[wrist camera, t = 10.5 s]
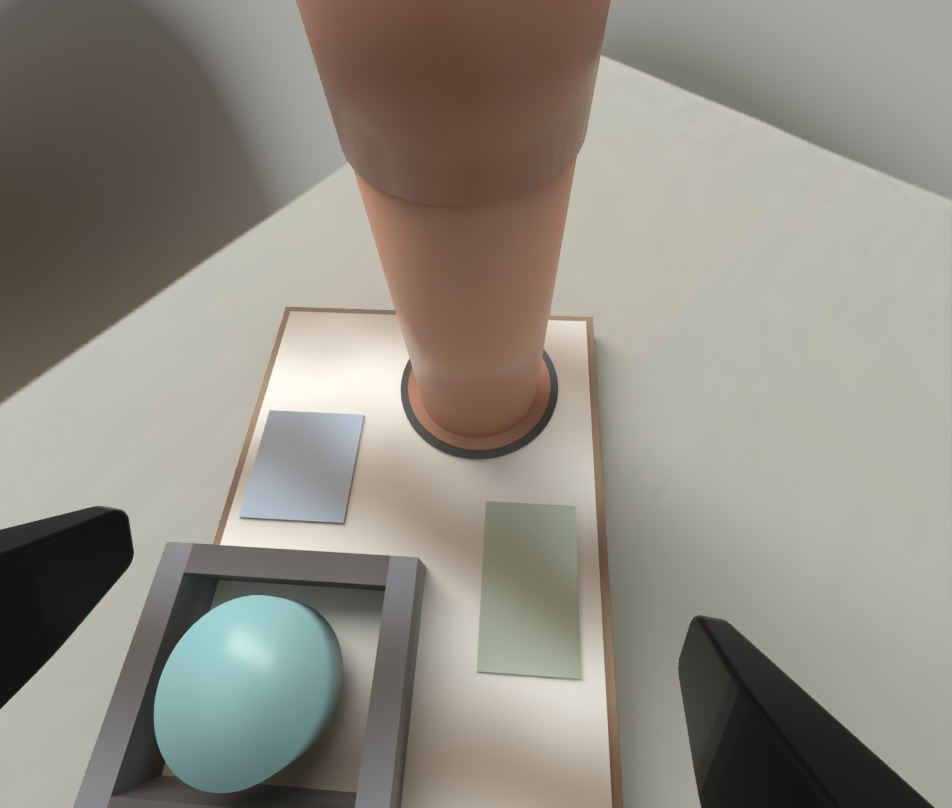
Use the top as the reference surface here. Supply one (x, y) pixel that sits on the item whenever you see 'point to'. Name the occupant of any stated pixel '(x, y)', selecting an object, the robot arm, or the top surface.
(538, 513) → the cream board
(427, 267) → the terracotta tall rounded cylinder
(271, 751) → the button
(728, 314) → the top surface
